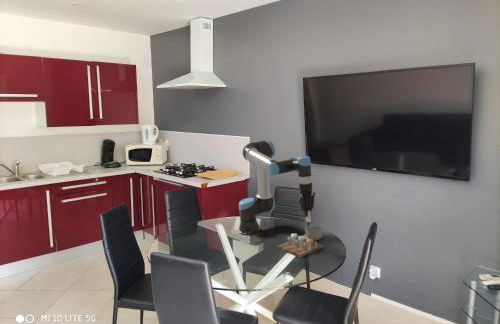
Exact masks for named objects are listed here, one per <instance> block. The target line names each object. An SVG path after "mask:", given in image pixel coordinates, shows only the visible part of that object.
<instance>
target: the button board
mask: <svg viewBox="0 0 500 324" xmlns="http://www.w3.org/2000/svg"><path fill="white" fill-rule="evenodd" d="M299 236H300V235H297V238H295V239H293V238H291V235H290V236H288V237H287V242H284V243H282V244H280V245H277V249H278V250H280V251H283V252H285V253H287V254H289V255H292V256H295V257H296V258H297V257H298V258H303V257H305V255H306V256H308V255H310V254H312V253H314V252H317V251H319V250H322V249H324V245H323V244H320V243H318V242H317V241H313V244H310V245H309V244H307V241H306V240H307V239H308V238H307V237H305V241H302V242H301V241H299V239H298V237H299ZM307 254H308V255H307Z"/></svg>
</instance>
